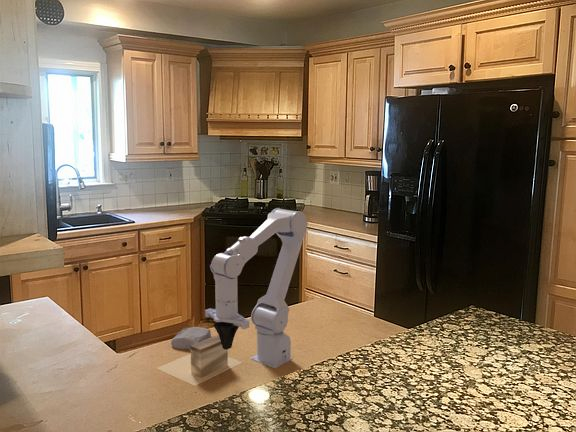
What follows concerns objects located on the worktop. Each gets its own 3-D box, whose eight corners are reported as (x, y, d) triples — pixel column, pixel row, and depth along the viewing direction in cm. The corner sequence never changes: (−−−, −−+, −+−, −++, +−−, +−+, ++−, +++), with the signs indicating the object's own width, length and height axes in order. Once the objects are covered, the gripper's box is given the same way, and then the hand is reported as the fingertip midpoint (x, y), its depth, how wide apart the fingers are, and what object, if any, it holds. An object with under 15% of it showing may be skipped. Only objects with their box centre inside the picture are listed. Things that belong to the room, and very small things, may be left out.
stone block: (169, 355, 162) (200, 352, 160) (166, 340, 162) (197, 336, 160) (185, 341, 174) (213, 338, 171) (182, 327, 173) (210, 323, 171)
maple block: (227, 365, 150) (227, 338, 149) (201, 378, 143) (200, 349, 141) (217, 361, 153) (217, 334, 151) (191, 373, 145) (190, 345, 144)
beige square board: (242, 363, 152) (242, 362, 152) (194, 387, 138) (194, 385, 138) (204, 348, 162) (204, 347, 162) (156, 369, 148) (156, 368, 148)
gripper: (196, 297, 141) (197, 345, 143) (235, 308, 132) (236, 360, 134) (215, 290, 147) (216, 337, 149) (254, 301, 138) (255, 351, 140)
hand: (227, 348), depth 142 cm, fingers closed
